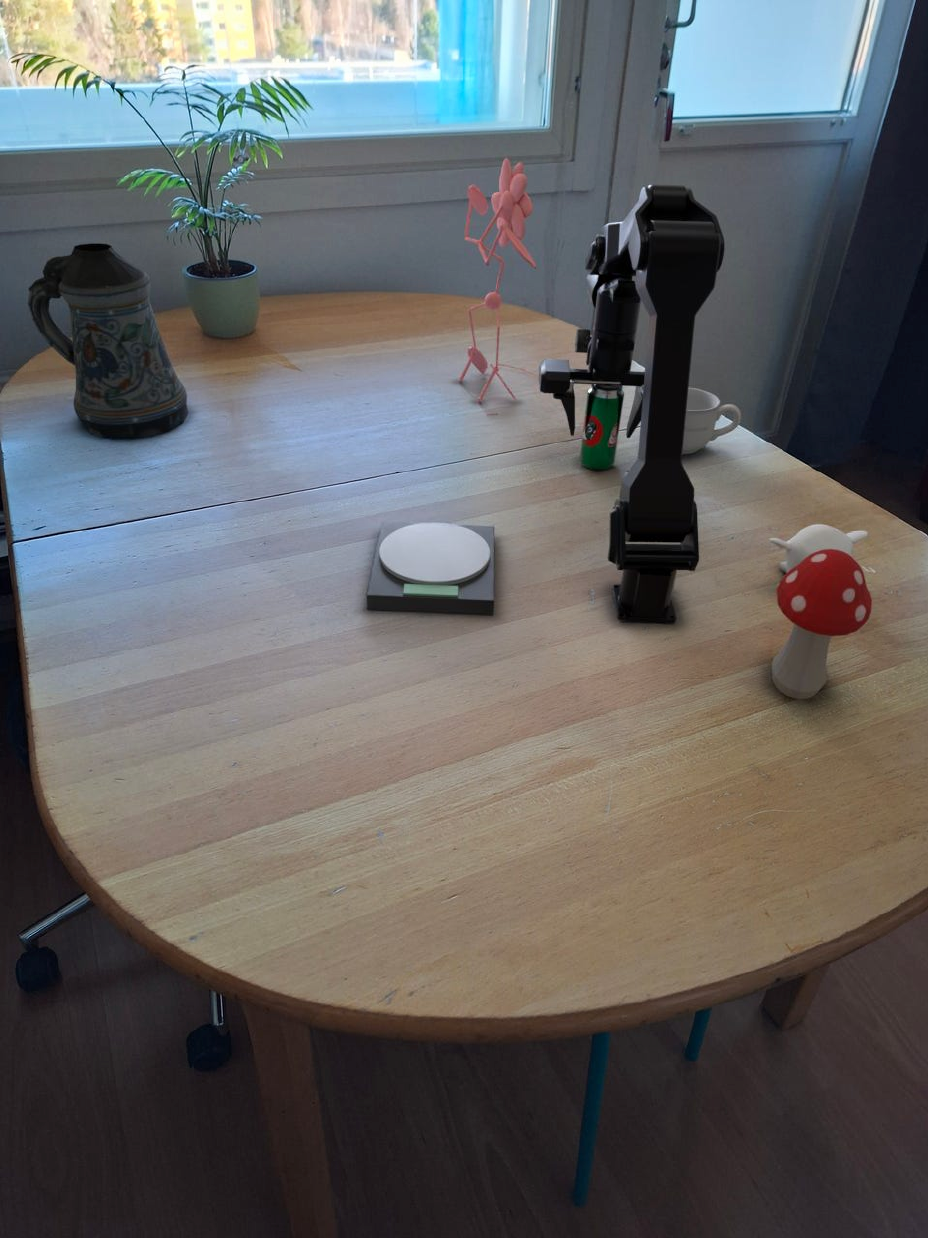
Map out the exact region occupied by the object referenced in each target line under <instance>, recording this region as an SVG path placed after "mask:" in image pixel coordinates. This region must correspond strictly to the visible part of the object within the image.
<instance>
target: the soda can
mask: <svg viewBox="0 0 928 1238" xmlns="http://www.w3.org/2000/svg"><path fill="white" fill-rule="evenodd" d="M623 388H624V386H619V385H596V384H590V387H588V389H587V392H586V393H587V394H586V403H585V410H584V411H585V412H584V420H583V427H582V436H581V445H580V451H579V461H580V463H581V464H582V465H583V466H584V467H585V468H587V469H589V470H593V471H604V470H609V469H610V468H612V467H613V466H614V465H615V461H616V453H617V447H618V442H619V441H618V439H619V433H620V426H621V419H622V414H623V413H622V412H623V407H624V400H625V399H624V398H625V392H624V390H623Z"/></svg>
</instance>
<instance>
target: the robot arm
mask: <svg viewBox="0 0 928 1238" xmlns="http://www.w3.org/2000/svg"><path fill="white" fill-rule="evenodd" d="M724 256H725V237H724V235H723V231H722V228H721V225H720V222H719V219H718V216H717V215H716V214H715V213H714V212H712V211H711V210H710V209H708V208H707V207H705V206H704V205H703V204H701V203H700V202H699V201H698V200H697V199H695V197H694V193H693V190H692V189H691V188H688V187H687V188H686V186H685V185H684V184H683V185H682V184H649V185H648V186H643V187H642V188H641V189H640V192H639V197H638V201H637V202H636V204H635V205H633V208H632V209H631V210H630V212H628V214H627V216H625V218H624V219H623V221H618V222H616V221H615V222H609V223H606V224H605V225H603V227H601V230H600V233H599V234H596V236H595V237H594V241H593V242H592V243H591V244H590V247H589V250H588V253H587V255H586V258H585V261H584V262H585V264H584V265H585V267H584V269H585V270H586V271H587V273H588V274H587V276H586V278H585V288H586V292H587V294H588V296H589V299H590V301H591V303H592V306H593V307H594V309H595V310H594V318H593V327H592V333H591V329H586V328H585V329H584V328H582V329H581V328H577V329H575V330H576V331H575V338H574V353H577V354H578V353H582V354H586V358H585V365H586V366H588V367H587V369H586V368H585V369H584V368H571V366H570V360H569V359H555V358H543V360H542V361H541V362H540V363H539V367H538V368H539V369H538V377H539V378H538V384H539V392H541V393H543V394H552V397H553V399H555V400H559V401H560V402H561V404H562V407H563V409H564V412H565V414H566V419H567V423H568V429H569V433H570V436H571V437H574V436H575V430H576V394H575V389H574V386H575V385H591V384H596V385H619V386H623V387H635V390H634V397H633V401H632V404H631V410H630V413H629V416H628V421H627V425H626V432H625V437H626V439H630V438H631V437H632V436H633V434H634V432H635V430H636V429H637V428H638V426H639V425H640V427H639V429H640V430H639V440H638V441H639V442H638V454H637V459H636V460H635V462H634V463H633V464H632V466H631V467H630V469H629V470H625V472H624V473H623V475H622V477H621V478H620V490H619V498H617V499H616V500H615V501H614V505H613V507H612V508H611V509H612V510H611V511H610V512H609V532H608V533H609V535H608V536H609V543H608V552H607V561H608V562H610V563H612V564H613V565H615V566H616V570H617V571H622V576H621V580H620V581H621V582H620V584H613V585H612V586H611V587H612V588H611V591H612V596H613V603H614V607H615V612H616V618H617V620H619V621H621V622H642V623H668V624H675V623H676V622H677V613H676V611H675V606H674V603H673V599H672V596H673V591H674V586H675V582H676V578H677V577H676V576H677V573H678V571H689V572H695V571H696V570H697V566H698V564H699V562H700V547H699V546H700V545H699V542H700V541H699V523H698V521H699V517H698V505H697V503H696V500H695V493H696V492H695V486H694V484H693V483H692V481H691V478H690V476H689V475H688V473H687V471H686V469H685V467H684V465H683V463H682V462H683V454H682V451H683V441H684V430H685V419H686V409H687V398H688V387H690V386H689V385H690V375H691V364H692V354H693V344H694V333H695V325H696V324H695V323H696V322H695V321H696V316H697V314H698V313H699V311H700V310H701V308H702V307H703V305H704V304H705V302H706V301H707V300H708V298H709V296H711V294H712V292H713V290H714V289H715V287H716V282H717V275H718V272H719V271H720V269H721V267H722V265H723V261H724ZM633 277H635V280H633ZM641 303H642V304H643V307H644V308H645V310H646V312H647V314H648V327H647V329H648V330H647V339H646V340H647V342H646V353H645V355H646V356H645V363H644V364H645V365H644V366H645V368H644V371H634V370H633V371H632V370H631V369H632V363H633V356H634V351H635V344H636V338H637V337H636V336H637V330H638V323H639V318H640V312H641ZM591 335H592V336H591Z"/></svg>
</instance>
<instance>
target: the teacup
mask: <svg viewBox="0 0 928 1238" xmlns="http://www.w3.org/2000/svg"><path fill="white" fill-rule="evenodd" d="M727 412H728V413H729V412H730V413H732V414H733V417H734V418H733V421H732V422H731V423H730V424H728V425H726V426H725V427H721V428H717V429H715V428H716V423H717V421H719V420H720V418H721V416H722V415H723V414H725V413H727ZM741 420H742V413H741V410H740V409H739V407H737V406H736V405H735V404H731V403H727V404H722V405H721V400H720V398H719V397H718V396H716V395H715V394H713V393H712V392H710V391H709V392H708V391H706V390H703V389H699V388H695V387H690V386H689V387H688V398H687V409H686V419H685V430H684V441H683V451H682V455H690V454H693V453H696V452H697V451H699V450H700V449H702V448H704V447H705V446H706V445H708V444H709V443H710V442H713V441H715V440H717V438H718V437H721V436H725V435H727V434H729V433H731V432H733V431H734V430H736V429H737V428H738V426H739V425H740V423H741Z"/></svg>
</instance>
